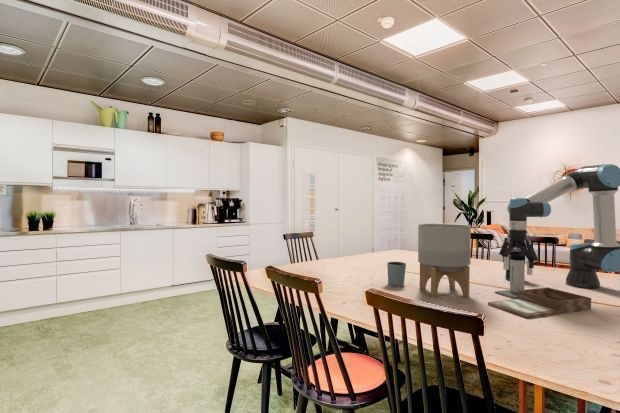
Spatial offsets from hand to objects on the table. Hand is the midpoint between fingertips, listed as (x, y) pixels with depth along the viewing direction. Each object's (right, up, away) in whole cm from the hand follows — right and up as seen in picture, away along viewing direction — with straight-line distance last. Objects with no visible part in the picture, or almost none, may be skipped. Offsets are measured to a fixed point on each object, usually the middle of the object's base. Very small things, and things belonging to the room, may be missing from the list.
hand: (517, 272), depth 182 cm
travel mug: (0, -11, 0) cm, 11 cm away
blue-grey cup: (-55, -11, +22) cm, 60 cm away
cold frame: (-3, -12, -21) cm, 24 cm away
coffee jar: (+17, -11, +32) cm, 38 cm away
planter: (-35, -11, +4) cm, 37 cm away
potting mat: (0, -11, 0) cm, 11 cm away
